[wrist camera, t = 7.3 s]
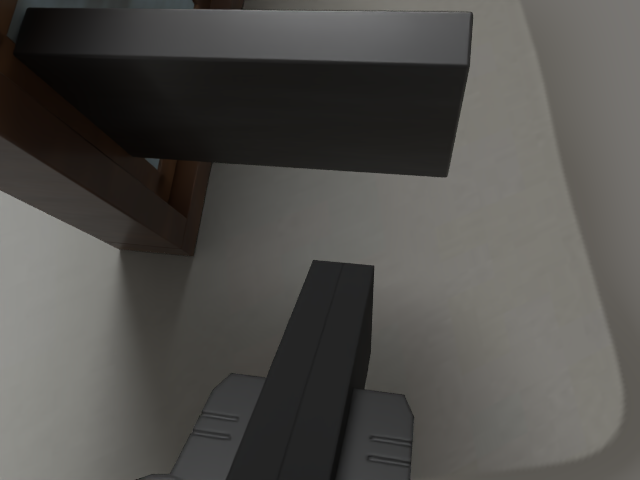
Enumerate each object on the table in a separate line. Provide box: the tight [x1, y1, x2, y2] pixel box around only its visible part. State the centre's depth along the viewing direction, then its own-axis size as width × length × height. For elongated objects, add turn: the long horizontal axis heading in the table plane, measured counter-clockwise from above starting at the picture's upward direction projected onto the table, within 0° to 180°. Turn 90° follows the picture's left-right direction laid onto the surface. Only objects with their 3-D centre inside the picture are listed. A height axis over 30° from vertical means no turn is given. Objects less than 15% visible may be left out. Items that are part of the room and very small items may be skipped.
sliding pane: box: [0, 0, 473, 203], centre depth 19 cm, size 12×13×12 cm
